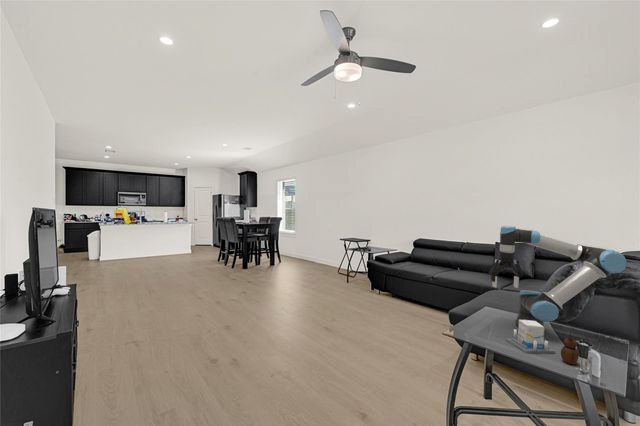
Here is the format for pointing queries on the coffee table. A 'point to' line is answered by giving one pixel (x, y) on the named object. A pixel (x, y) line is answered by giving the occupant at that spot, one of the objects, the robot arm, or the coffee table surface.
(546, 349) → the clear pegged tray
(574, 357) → the wooden figurine
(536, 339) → the ink box
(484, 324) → the coffee table surface
